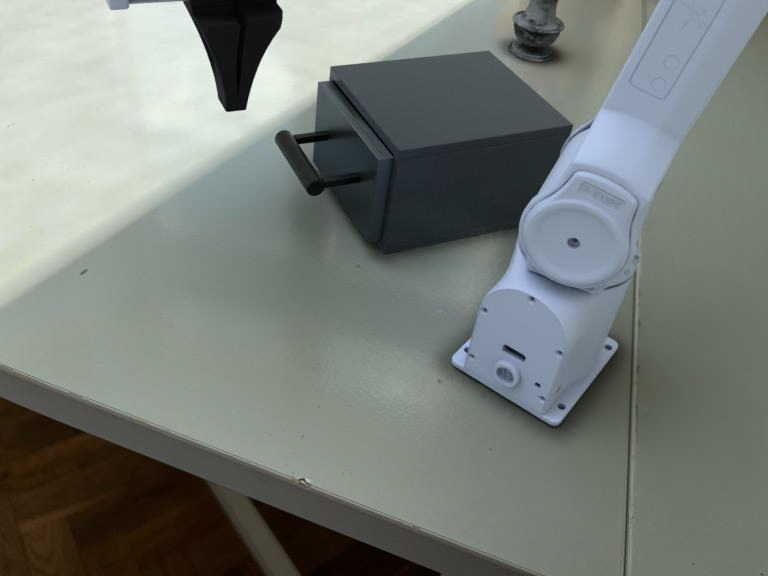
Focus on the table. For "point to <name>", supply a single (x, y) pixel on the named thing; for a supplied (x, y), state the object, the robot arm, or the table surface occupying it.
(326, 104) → the drawer
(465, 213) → the cabinet
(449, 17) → the table surface
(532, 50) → the ornate metal candlestick
